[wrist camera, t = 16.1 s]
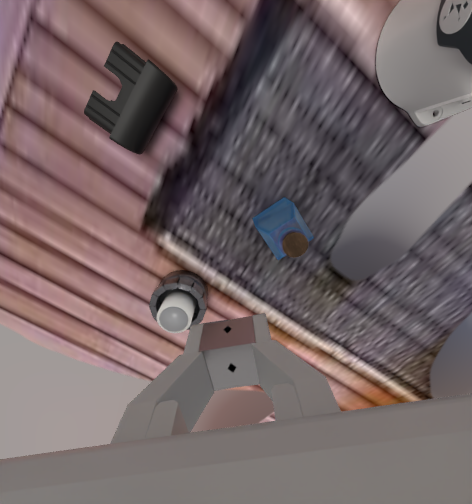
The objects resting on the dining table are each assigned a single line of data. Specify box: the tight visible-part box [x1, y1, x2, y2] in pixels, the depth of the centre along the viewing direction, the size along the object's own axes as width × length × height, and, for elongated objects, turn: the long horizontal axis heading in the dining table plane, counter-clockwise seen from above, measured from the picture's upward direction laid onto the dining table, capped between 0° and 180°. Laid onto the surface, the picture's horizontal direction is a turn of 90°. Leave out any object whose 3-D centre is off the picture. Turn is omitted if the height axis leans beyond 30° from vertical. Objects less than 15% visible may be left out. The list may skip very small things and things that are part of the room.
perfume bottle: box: [252, 197, 314, 260], centre depth 34 cm, size 6×6×12 cm
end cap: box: [84, 42, 177, 154], centre depth 31 cm, size 10×7×7 cm
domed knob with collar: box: [149, 270, 208, 330], centre depth 42 cm, size 9×9×5 cm
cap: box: [157, 288, 196, 333], centre depth 39 cm, size 5×5×5 cm
